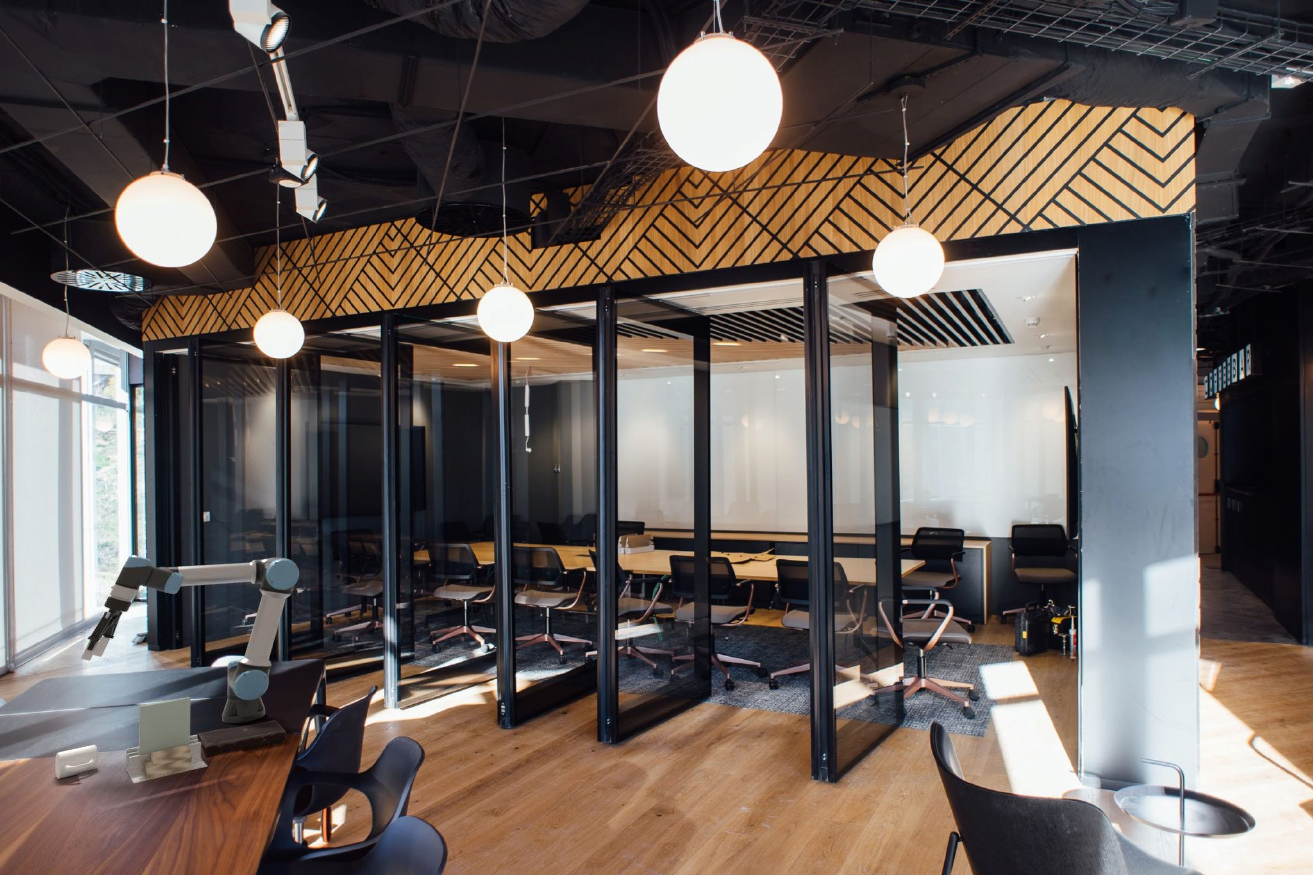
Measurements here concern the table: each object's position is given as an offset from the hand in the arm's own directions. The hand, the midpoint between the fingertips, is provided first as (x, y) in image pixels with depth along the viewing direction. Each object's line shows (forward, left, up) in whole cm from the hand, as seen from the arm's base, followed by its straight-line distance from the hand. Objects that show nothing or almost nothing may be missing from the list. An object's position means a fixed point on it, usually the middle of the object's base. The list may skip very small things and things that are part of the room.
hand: (91, 657), depth 264 cm
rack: (-17, +37, -33) cm, 53 cm away
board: (-17, +33, -32) cm, 49 cm away
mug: (+5, +21, -34) cm, 40 cm away
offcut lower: (-17, +41, -32) cm, 55 cm away
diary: (-42, +26, -34) cm, 60 cm away
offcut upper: (-18, +41, -29) cm, 53 cm away
